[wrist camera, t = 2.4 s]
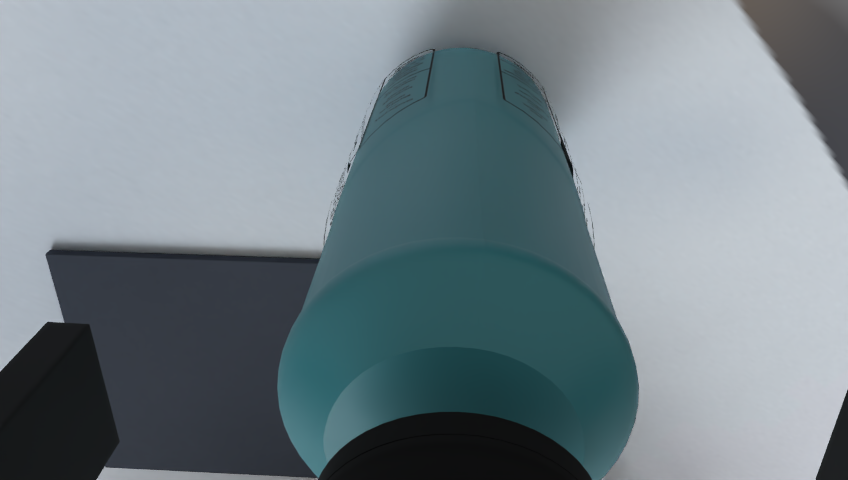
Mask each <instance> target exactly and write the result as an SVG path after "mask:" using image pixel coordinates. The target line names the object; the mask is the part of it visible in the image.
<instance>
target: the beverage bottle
mask: <svg viewBox="0 0 848 480" xmlns="http://www.w3.org/2000/svg"><path fill="white" fill-rule="evenodd" d="M430 50H433V52H432V53H428V54H426V55H424V56H421V57H419V56H418V57H419V58H418V57H417V59H415V58H414V59H415V60H413V59H412V60H413V61H412V60H410V61H411V62H410V61H408V62H410V63H408V62H407V63H408V64H407V65H406V66H403V67H402V66H401V67H402V69H401V68H400V67H399V68H400V69H401V70H400V69H399V68H398V69H399V70H398V69H397V70H398V71H397V73H396V71H395V73H396V74H395V73H394V74H395V75H394V74H393V75H394V76H393V75H392V76H393V77H391V79H389V80H388V83H387V84H386V85H385V87H384V88H383V90H382V87H383V85H382V87H381V90H382V91H381V90H380V92H381V93H379V95H378V98H377V100H376V103H375V105H374V108H373V110H372V113H371V116H370V118H369V121H368V124H367V126H366V129H365V132H364V130H363V132H364V134H363V137H362V136H361V139H362V140H361V143H360V145H359V148H358V151H357V152H356V156H355V155H354V156H355V159H354V161H353V164H352V167H351V170H350V172H349V175H348V178H347V180H346V183H345V182H344V183H345V186H344V188H343V189H342V190H343V191H342V194H341V192H340V194H341V195H340V199H338V198H337V199H338V200H339V202H338V205H337V207H336V210H333V211H335V214H334V216H333V219H332V220H333V222H332V223H331V224H330V225H332V226H331V229H330V232H329V234H328V237H327V240H326V243H325V246H324V249H323V251H322V254H321V257H320V260H319V263H318V265H317V268H316V271H315V274H314V277H313V280H312V282H311V285H310V288H309V291H308V294H307V297H306V299H305V302H304V305H303V308H302V311H301V312H300V314H299V316H298V318H297V319H296V321H295V323H294V324H293V326H292V328H291V331H290V333H289V335H288V338H287V340H286V343H285V345H284V348H283V351H282V355H281V360H280V364H279V370H278V384H277V390H278V400H279V409H280V412H281V416H282V420H283V423H284V426H285V428H286V431H287V433H288V435H289V438H290V440H291V442H292V443H293V445H294V447H295V448H296V450H297V452H298V453H299V455H300V456H301V458H302V459H303V460H304V462H305V463H306V464H307V465H308V467H309V468H310V469H311V470H312V472H313V473H314V474H315V475H316V476H317V477H318V478H319V479H318V480H601V479H602V478H603V477H604V476H605V475H606V474H607V473H608V471H609V470H610V469H611V467H612V466H613V465H614V463H615V462H616V461H617V460H618V458H619V456H620V454H621V453H622V451H623V449H624V447H625V446H626V444H627V441H628V439H629V436H630V433H631V431H632V428H633V426H634V423H635V419H636V413H637V408H638V395H639V384H638V377H637V370H636V365H635V361H634V357H633V354H632V351H631V348H630V344H629V341H628V339H627V337H626V335H625V333H624V331H623V329H622V327H621V325H620V323H619V321H618V320H617V318H616V315H615V311H614V308H613V305H612V302H611V299H610V296H609V293H608V290H607V287H606V284H605V281H604V278H603V275H602V271H601V268H600V265H599V262H598V259H597V256H596V253H595V250H594V247H593V244H592V241H591V238H590V235H589V232H588V228H587V225H586V224H587V222H585V211H584V212H583V208H582V207H583V206H582V205H581V201H580V198H579V195H578V191H577V190H578V187H577V189H576V186H575V183H574V180H573V167H572V166H573V165H572V161H571V162H570V159H569V156H568V154H567V151H566V148H565V147H566V145H564V143H563V140H562V137H561V134H560V133H559V130H560V129H559V130H558V128H557V130H558V133H559V135H560V138H561V144H560V141H559V138H558V134H557V133H556V130H555V127H554V124H553V121H552V119H551V116H550V113H549V110H548V107H550V106H548V107H547V105H546V104H547V103H546V102H545V101H546V100H545V99H544V98H543V96H542V94H541V92H540V91H539V89H538V88H537V86H536V85H535V83H534V82H533V81H532V80H531V79H530V77H529V76H528V75H527V74H526V73H528V72H526V73H525V72H524V71H522V70H521V69H522V67H520V68H521V69H520V68H519V65H518V64H517V66H516V63H515V62H514V63H515V64H513V63H512V62H510V61H509V60H507V59H505V58H503V57H501V56H499V53H500V52H497V54H494V53H491V52H488V51H484V50H479V49H474V48H449V49H443V50H438V51H435V49H430ZM427 51H428V50H427ZM424 52H425V51H424ZM422 53H423V52H422ZM419 54H420V53H419ZM502 54H503V53H502ZM417 55H418V54H417ZM504 55H505V54H504ZM415 56H416V55H415ZM506 56H507V55H506ZM413 57H414V56H413ZM508 57H509V56H508ZM411 58H412V57H411ZM510 58H511V57H510ZM409 59H410V58H409ZM409 59H408V60H409ZM513 60H514V59H513ZM406 61H407V60H406ZM516 62H517V61H516ZM403 63H404V62H403ZM405 64H406V63H405ZM519 64H520V63H519ZM400 65H401V64H400ZM400 65H399V66H400ZM522 66H523V65H522ZM523 67H524V66H523ZM524 68H525V67H524ZM524 68H523V70H525V69H524ZM394 70H395V69H394ZM394 70H393V71H394ZM525 71H526V70H525ZM530 73H531V72H530ZM390 74H391V73H390ZM390 74H389V75H390ZM531 74H532V73H531ZM389 75H388V76H389ZM532 75H533V74H532ZM388 76H387V77H388ZM530 76H531V75H530ZM387 77H386V78H387ZM386 78H385V79H386ZM532 78H533V76H532ZM385 79H384V82H385ZM533 79H534V78H533ZM384 82H383V84H384ZM538 82H539V81H538ZM539 83H540V82H539ZM381 84H382V83H381ZM541 86H542V85H541ZM539 88H540V87H539ZM542 88H543V87H542ZM540 89H541V88H540ZM541 90H542V89H541ZM543 90H544V88H543ZM545 92H546V91H545ZM545 92H544V93H545ZM375 93H376V92H375ZM545 96H546V94H545ZM546 99H547V97H546ZM547 102H548V100H547ZM550 102H551V101H550ZM370 103H371V102H370ZM548 105H549V103H548ZM550 110H551V108H550ZM551 113H552V111H551ZM555 115H556V114H555ZM552 116H553V114H552ZM364 118H365V117H364ZM555 118H557V117H555ZM553 119H554V117H553ZM554 121H555V119H554ZM557 121H558V119H557ZM364 122H365V121H364ZM362 123H363V122H362ZM555 124H556V122H555ZM557 125H558V124H557ZM557 125H556V127H557ZM362 127H363V126H362ZM360 128H361V127H360ZM362 129H363V128H362ZM358 135H359V134H358ZM358 135H357V136H358ZM356 140H357V139H356ZM564 141H565V139H564ZM356 143H357V142H356ZM356 143H355V145H356ZM566 144H567V143H566ZM567 147H568V146H567ZM354 148H355V147H354ZM568 150H569V149H568ZM353 151H354V150H353ZM350 155H351V154H350ZM350 155H349V156H350ZM570 157H571V156H570ZM349 159H350V158H349ZM352 159H353V158H352ZM350 162H351V161H350ZM567 163H568V164H567ZM350 164H351V163H350ZM350 164H349V163H348V170H349V167H350ZM345 168H346V167H345ZM345 168H344V169H345ZM575 172H576V169H575ZM344 173H345V172H344ZM344 173H343V174H344ZM347 173H348V171H347ZM576 174H577V173H576ZM342 176H343V175H342ZM342 176H341V179H342V178H344V177H342ZM577 176H578V175H577ZM577 176H576V177H577ZM578 178H579V177H578ZM341 179H340V180H341ZM343 180H344V179H343ZM579 180H580V179H579ZM339 182H340V181H339ZM580 182H581V181H580ZM341 184H342V182H341ZM577 184H578V182H577ZM581 184H582V183H581ZM341 187H343V185H342V186H341ZM579 187H580V186H579ZM338 189H340V188H338ZM338 189H337V190H338ZM582 190H583V189H582ZM339 191H340V190H339ZM579 193H580V191H579ZM583 196H584V195H583ZM333 197H334V196H333ZM337 197H338V195H337ZM335 202H336V201H335ZM331 203H332V202H331ZM588 205H589V204H588ZM335 206H336V204H335ZM584 206H585V204H584ZM333 209H334V208H333ZM584 210H585V208H584ZM589 210H590V209H589ZM331 213H332V212H331ZM328 214H329V213H328ZM590 215H591V214H590ZM331 217H332V215H331ZM327 218H328V217H327ZM591 219H592V218H591ZM326 224H327V222H326ZM592 227H593V223H592ZM325 231H326V229H325ZM593 237H594V233H593ZM324 240H325V235H324ZM594 246H595V244H594Z"/></svg>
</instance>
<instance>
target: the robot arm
mask: <svg viewBox="0 0 848 480" xmlns="http://www.w3.org/2000/svg"><path fill="white" fill-rule="evenodd" d="M119 442H120V440H119V437H118V433H117V429H116V425H115V421H114V417H113V413H112V409H111V406H110V402H109V398H108V394H107V390H106V386H105V382H104V379H103V375H102V371H101V367H100V363H99V359H98V355H97V352H96V348H95V344H94V340H93V336H92V332H91V328H90V324H80V323H57V322H47V323H46V324H45V325H44V326H43V327H42V328H41V329H40V330H39V331H38V332H37V334H36V335H35V336H34V337H33V338H32V339H31V340H30V341H29V342H28V343H27V344H26V345H25V346H24V347H23V348H22V349H21V350H20V351H19V353H18V354H17V355H16V356H15V357H14V358H13V359H12V360H11V361H10V362H9V363H8V364H7V365H6V366H5V367H4V368H3V369H2V370H1V372H0V480H96V479H97V478H98V476H99V474H100V473H101V471H102V470H103V468H104V466H105V465H106V463H107V462H108V460H109V458H110V457H111V455H112V454H113V452H114V450H115V449H116V447H117V446H118V444H119ZM816 480H848V390H847V393H846V396H845V399H844V402H843V404H842V407H841V410H840V413H839V415H838V418H837V421H836V424H835V427H834V429H833V432H832V435H831V438H830V441H829V443H828V446H827V449H826V452H825V455H824V457H823V460H822V463H821V466H820V468H819V471H818V474H817V477H816Z"/></svg>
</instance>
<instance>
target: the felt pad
mask: <svg viewBox="0 0 848 480" xmlns="http://www.w3.org/2000/svg"><path fill="white" fill-rule="evenodd" d="M46 258H47V261H48V265H49V269H50V272H51V276H52V279H53V283H54V286H55V290H56V293H57V297H58V300H59V304H60V308H61V311H62V315H63V318H64V322H65V323H80V324H90V328H91V332H92V336H93V340H94V344H95V348H96V352H97V355H98V359H99V363H100V367H101V371H102V375H103V379H104V382H105V386H106V390H107V394H108V398H109V402H110V406H111V409H112V413H113V417H114V421H115V425H116V429H117V433H118V437H119V440H120V442H119V444H118V446H117V447H116V449H115V450H114V452H113V454H112V455H111V457H110V458H109V460H108V462H107V463H106V465H105V467H110V468H130V469H150V470H170V471H190V472H210V473H229V474H249V475H269V476H289V477H309V478H318V477H317V476H316V475H315V474H314V473H313V472H312V470H311V469H310V468H309V467H308V465H307V464H306V463H305V462H304V460H303V459H302V458H301V456H300V455H299V453H298V452H297V450H296V448H295V447H294V445H293V443H292V442H291V440H290V438H289V435H288V433H287V431H286V428H285V426H284V423H283V420H282V416H281V412H280V409H279V400H278V390H277V384H278V370H279V364H280V360H281V355H282V351H283V348H284V345H285V343H286V340H287V338H288V335H289V333H290V331H291V328H292V326H293V324H294V323H295V321H296V319H297V318H298V316H299V314H300V312H301V311H302V308H303V305H304V302H305V299H306V297H307V294H308V291H309V288H310V285H311V282H312V280H313V277H314V274H315V271H316V268H317V265H318V263H319V260H320V259H300V258H271V257H242V256H213V255H183V254H154V253H125V252H95V251H66V250H50V251H49V252H47V253H46Z"/></svg>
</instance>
